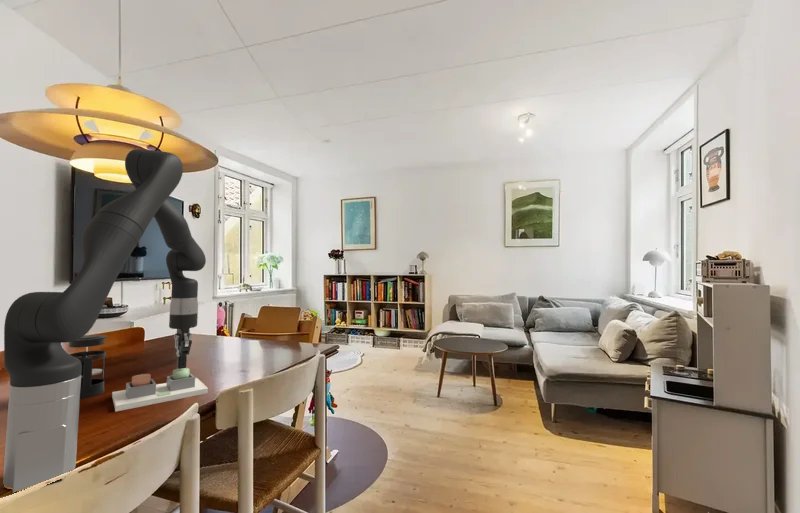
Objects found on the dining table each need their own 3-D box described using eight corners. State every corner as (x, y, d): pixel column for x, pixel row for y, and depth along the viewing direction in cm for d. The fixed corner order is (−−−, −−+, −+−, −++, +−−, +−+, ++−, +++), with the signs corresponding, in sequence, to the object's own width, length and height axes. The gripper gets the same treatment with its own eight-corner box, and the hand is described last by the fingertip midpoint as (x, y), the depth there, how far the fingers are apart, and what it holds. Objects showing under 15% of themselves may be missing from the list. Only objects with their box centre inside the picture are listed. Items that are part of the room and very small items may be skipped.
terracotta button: (151, 386, 101) (151, 376, 101) (132, 390, 98) (132, 379, 98) (149, 383, 104) (149, 372, 104) (130, 386, 101) (131, 375, 101)
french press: (61, 393, 105) (66, 316, 106) (102, 386, 111) (106, 314, 112) (63, 403, 96) (68, 320, 98) (107, 395, 103) (111, 317, 104)
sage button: (190, 380, 108) (190, 370, 108) (173, 382, 105) (174, 372, 105) (187, 376, 111) (187, 367, 111) (171, 379, 108) (171, 369, 108)
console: (207, 393, 107) (208, 378, 107) (115, 411, 92) (116, 394, 92) (196, 382, 117) (197, 368, 117) (112, 397, 102) (112, 381, 102)
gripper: (202, 313, 107) (200, 370, 106) (192, 309, 116) (190, 361, 116) (174, 315, 101) (171, 375, 101) (166, 311, 111) (163, 365, 110)
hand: (181, 367), depth 108 cm, fingers closed
